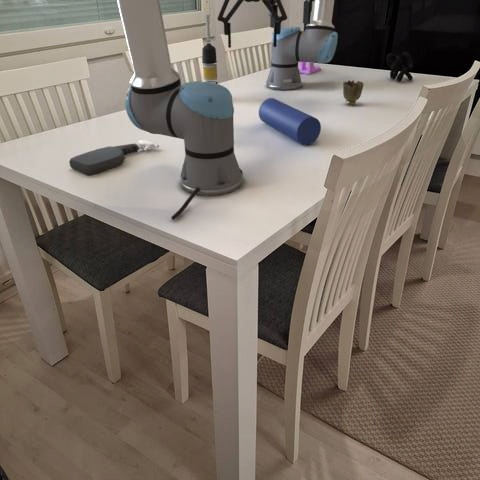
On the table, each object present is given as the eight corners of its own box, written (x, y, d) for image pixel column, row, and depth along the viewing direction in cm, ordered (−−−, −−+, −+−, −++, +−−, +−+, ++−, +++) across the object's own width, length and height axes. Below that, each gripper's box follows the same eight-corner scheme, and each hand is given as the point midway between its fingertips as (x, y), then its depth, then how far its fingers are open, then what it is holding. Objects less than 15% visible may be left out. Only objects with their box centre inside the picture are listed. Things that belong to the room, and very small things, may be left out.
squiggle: (400, 92, 202) (376, 71, 205) (417, 76, 202) (392, 56, 205) (405, 81, 191) (380, 59, 194) (423, 64, 191) (397, 42, 194)
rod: (319, 142, 134) (322, 115, 129) (296, 147, 131) (297, 119, 126) (280, 121, 152) (280, 96, 148) (258, 124, 149) (258, 99, 145)
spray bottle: (67, 168, 120) (139, 144, 136) (91, 178, 114) (163, 151, 130) (65, 157, 118) (137, 134, 134) (89, 167, 112) (162, 142, 128)
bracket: (309, 74, 214) (310, 58, 210) (299, 72, 217) (300, 57, 213) (322, 69, 223) (323, 54, 219) (312, 68, 225) (313, 53, 222)
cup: (338, 105, 167) (340, 83, 162) (344, 100, 172) (346, 79, 168) (358, 107, 164) (360, 85, 159) (363, 103, 169) (366, 81, 165)
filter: (220, 99, 177) (217, 15, 161) (206, 100, 176) (202, 16, 160) (215, 96, 182) (212, 14, 166) (202, 97, 180) (197, 14, 164)
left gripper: (296, -37, 126) (292, 44, 137) (208, -36, 126) (211, 45, 137) (299, -37, 120) (295, 48, 131) (206, -36, 120) (210, 49, 131)
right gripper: (315, -53, 142) (311, 20, 154) (251, -51, 131) (252, 28, 142) (332, -54, 137) (326, 22, 148) (267, -52, 125) (266, 30, 137)
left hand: (252, 46), depth 134 cm, fingers open, 13 cm apart
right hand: (290, 25), depth 145 cm, fingers open, 13 cm apart
